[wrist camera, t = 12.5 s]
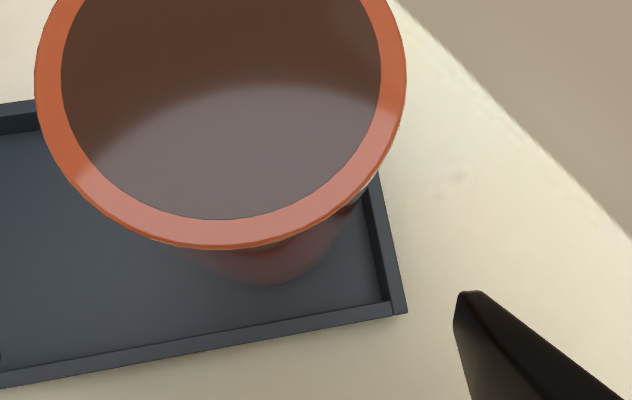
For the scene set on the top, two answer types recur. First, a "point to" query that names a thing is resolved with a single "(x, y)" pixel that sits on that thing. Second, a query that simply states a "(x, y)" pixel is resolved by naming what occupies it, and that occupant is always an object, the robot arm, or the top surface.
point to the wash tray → (151, 278)
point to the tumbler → (223, 121)
